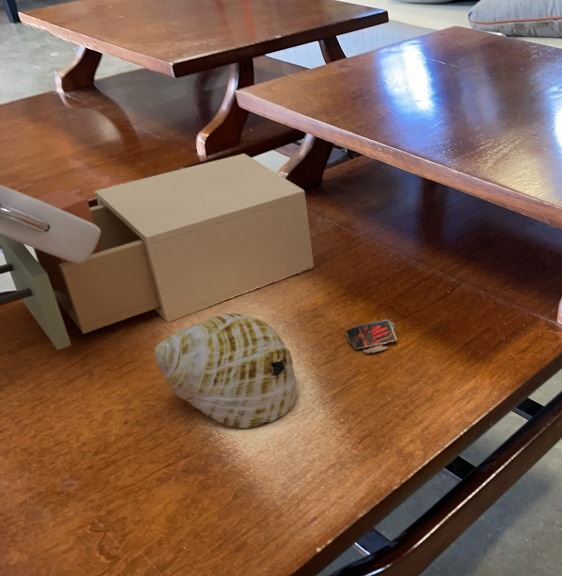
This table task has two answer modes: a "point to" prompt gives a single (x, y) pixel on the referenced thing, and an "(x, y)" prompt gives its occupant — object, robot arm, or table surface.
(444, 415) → the table surface
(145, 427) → the table surface
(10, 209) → the robot arm
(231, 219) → the cabinet
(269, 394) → the seashell
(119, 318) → the drawer
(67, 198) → the block
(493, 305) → the table surface
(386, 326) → the matchbox
